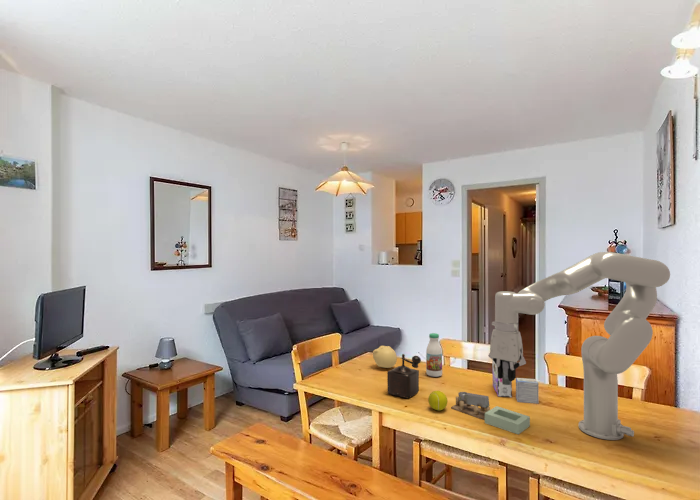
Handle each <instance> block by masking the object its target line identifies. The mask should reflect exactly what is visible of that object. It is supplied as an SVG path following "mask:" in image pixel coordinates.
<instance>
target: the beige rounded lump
mask: <svg viewBox="0 0 700 500" xmlns="http://www.w3.org/2000/svg"><path fill="white" fill-rule="evenodd" d="M372 359H373V361H374V362H375V365H377V367H379V368H385V369H386V368H387V369H389V368H393V367H394V366H395V365H396V364H397V360H398V357H397V353H396V351H395V350H394V349H393V348H392V347H391V346H389V345H387V346H386V345H380V346H379V347H378V348H376V349H374V350H373V351H372Z"/></svg>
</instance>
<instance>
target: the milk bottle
mask: <svg viewBox="0 0 700 500" xmlns="http://www.w3.org/2000/svg"><path fill="white" fill-rule="evenodd" d="M428 337H429V341H428V344H427V347H426V351H425V353H426V354H425V364H426V365H425V368H426V369H425V371H426V372H425V373H426V375H428V376H430V377H435V378H437V377H441V376H442V375H443V350H442V346H441V345H440V341H439V340H440V338H439V337H440V334H439V333H436V332H435V333H434V332H432V333H429V336H428Z"/></svg>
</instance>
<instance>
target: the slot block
mask: <svg viewBox="0 0 700 500" xmlns="http://www.w3.org/2000/svg"><path fill="white" fill-rule="evenodd" d="M530 421H531V417H530V416H529V415H526V414H523V413H520V412H516V411H514V410H510V409H507V408H504V407H500V406H497V405H496V406H494V407H493V408H490V410H489V411H488V412H486V413H485V420H484V424H487V425H490V426H493V427H495V428H499V429H501V430H505V431H507V432H510V433H513V434H514V435H515V434H516V435H520V434H521V433H522V432H524V431H526V430H527V429H528V428H529V427H530V426H531V424H530V423H531V422H530Z"/></svg>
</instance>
